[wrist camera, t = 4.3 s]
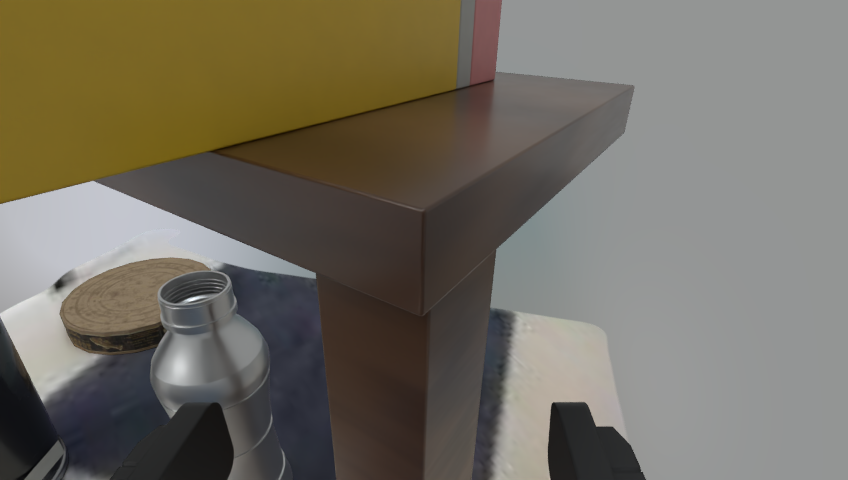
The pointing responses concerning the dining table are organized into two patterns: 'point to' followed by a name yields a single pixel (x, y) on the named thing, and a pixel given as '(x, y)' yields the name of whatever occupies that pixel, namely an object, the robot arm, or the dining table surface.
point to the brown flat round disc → (122, 306)
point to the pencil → (212, 75)
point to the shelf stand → (400, 243)
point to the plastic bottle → (218, 369)
